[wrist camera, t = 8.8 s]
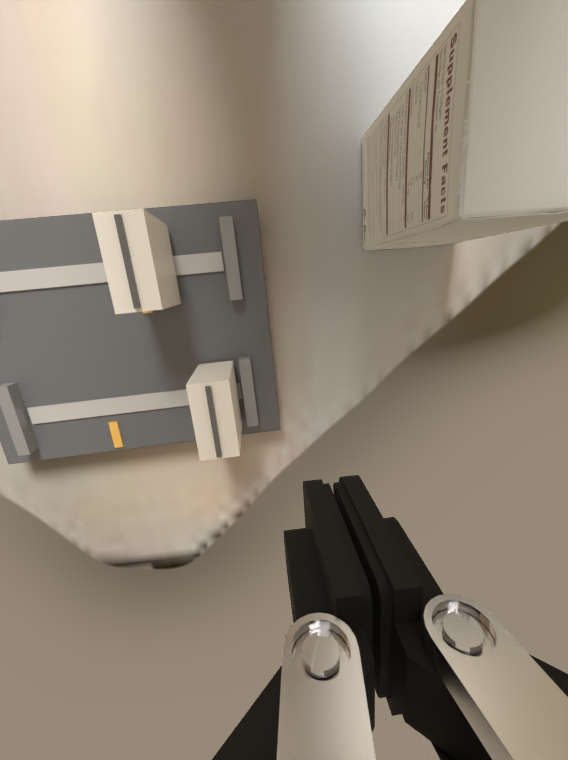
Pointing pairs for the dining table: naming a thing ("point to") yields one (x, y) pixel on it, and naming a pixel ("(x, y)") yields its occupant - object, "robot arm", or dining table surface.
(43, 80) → the dining table surface
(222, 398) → the block
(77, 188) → the dining table surface
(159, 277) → the block
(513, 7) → the supplement box
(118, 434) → the console
